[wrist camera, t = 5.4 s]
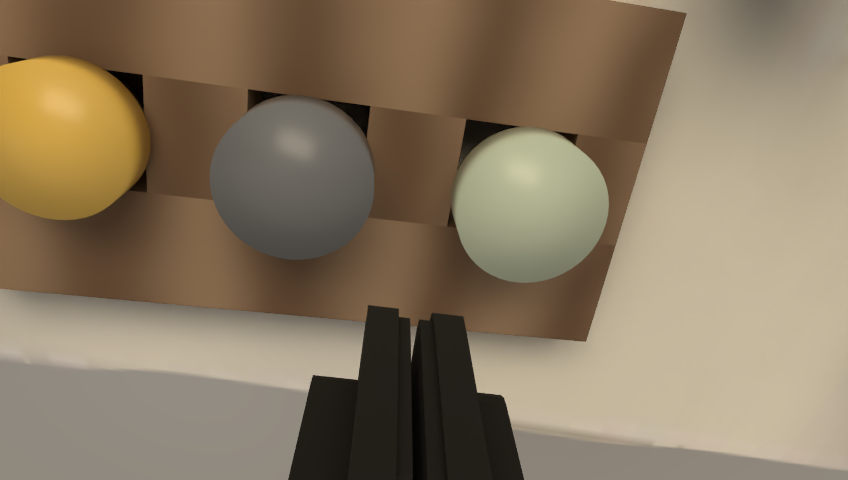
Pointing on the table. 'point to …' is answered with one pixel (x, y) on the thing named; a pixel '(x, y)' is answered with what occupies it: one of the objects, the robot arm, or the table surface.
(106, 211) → the console
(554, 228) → the button sage
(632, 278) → the table surface
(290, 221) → the grey rounded lump
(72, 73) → the button amber
